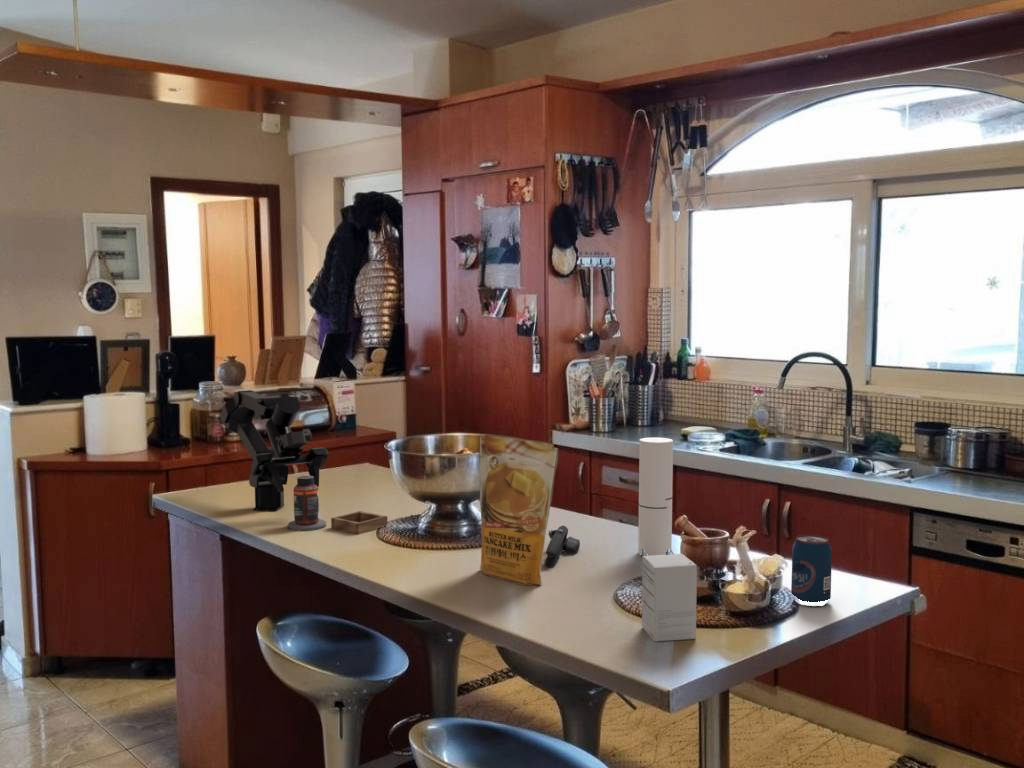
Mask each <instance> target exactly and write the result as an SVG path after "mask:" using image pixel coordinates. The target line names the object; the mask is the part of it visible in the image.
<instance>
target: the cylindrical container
mask: <svg viewBox="0 0 1024 768" xmlns="http://www.w3.org/2000/svg"><path fill="white" fill-rule="evenodd" d="M638 455H639V459H638V460H639V461H638V462H639V463H638V464H639V465H638V466H639V467H638V476H639V477H638V480H639V481H638V542H637V543H638V544H637V546H638V549H637V550H638V552H637V554H638V555H639V556H641V555H640V554H641V549H643V550H645V552H646V553H647V554H648V556H651V555H666V552H667V549H671V550H672V546H673V545H672V543H673V542H672V541H673V540H672V537H673V536H672V535H673V533H672V532H673V530H672V529H673V479H674V478H673V477H674V476H673V473H674V472H673V471H674V469H673V468H674V467H673V463H674V440H673V439H671V438H666V437H644V438H643V437H642V438H640V439H639V452H638Z"/></svg>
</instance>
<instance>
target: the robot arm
mask: <svg viewBox="0 0 1024 768" xmlns="http://www.w3.org/2000/svg"><path fill="white" fill-rule="evenodd" d="M300 409H301V403H300V401H298V399H296V398H294V397H293V396H290V395H289V393H288V392H281V393H280V394H279V396H270V397H269V396H265V395H262V394H260V393H257V392H255V391H254V390H251V389H250V390H249V389H248V390H238V391H235V392H234V394H233V397H232V398H230V399H229V400H228V401H226V402H225V403H224V405H223V407H222V410H221V413H220V420H221V423H222V424H223V425H224V427H225V428H226V429H227V430H228V431H230V432H233V433H235V434H237V435H238V438H239V439H240V441H241V443H242V444H243V446H244V447H245V448H246V450H247V452H248V454H249V455H250V457H251V459H252V463H251V465H250V470H251V472H250V474H249V476H248V483H249V486H250V487H253V488H254V501H255V502H254V503H255V504H254V507H253V508H252V511H268V512H269V511H275V512H276V511H278V510H280V509H282V508H283V507H285V496H284V494H285V493H284V492H285V491H284V490H285V488H284V486H285V485H286V486H287V484H288V477H289V470H290V468H289V465H290V466H291V465H299V464H300V465H301V464H305V465H306V467H307V468H308V469H307V472H308V474H309V475H308V476H313V477H314V484H315V485H317V487H318V488H319V486H320V470H321V468H323V467H324V465H325V463H326V461H327V459H328V457H329V455H330V454H329V452H328V449H327V448H326V447H323V446H322V447H312V448H310V449H309V451H308V453H307V454H301V453H302V452H303V451H304V447H303V446H306V445H307V444H308V443H310V442H311V441H312V440H313V435H312V432H311V430H310V428H302V430H300V431H292V430H291V426H292V425H293V424H294V422H295V420H296V418H297V416H298V415H299V414H298V413H299V411H300ZM255 417H256V418H257V419H258V420H260V421H262V420H263V421H265V420H267V421H266V424H265V425H264V427H265V429H264V435H268V439H269V442H270V445H271V447H270V448H269V447H268V444H267V443H266V442H265V440H264V439H263V436H262V435H261V434H260V432H259V431H258V428H257V427H256V426H255V424H254V419H255Z"/></svg>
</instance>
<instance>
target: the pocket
mask: <svg viewBox="0 0 1024 768" xmlns="http://www.w3.org/2000/svg"><path fill="white" fill-rule="evenodd" d="M330 521H331V524H330V525H331V526H330V527H331V529H332V530H337V531H342V532H347V533H350V534H351V533H352V534H357V535H361V534H364V533H368V532H372V531H376V529H377V530H379V529H378V528H380V527H382V526H386V525H388V516H387V515H383V514H377V513H371V512H365V511H361V510H360V511H355V512H351V513H347V514H343V515H338V516H335V517H331V518H330ZM388 526H389V525H388ZM380 529H381V528H380Z"/></svg>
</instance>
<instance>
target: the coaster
mask: <svg viewBox="0 0 1024 768" xmlns="http://www.w3.org/2000/svg"><path fill="white" fill-rule="evenodd" d="M287 526H288V527H289V528H290V529H289V528H288V529H289V530H292V529H293V531H298V530H301V531H300V532H302V531H303V532H305V531H317V530H321V529H323V528H324V529H325V528H326V526H327V522H326V520H324V519H320V518H319V521H318V522H317V523H315V524H310V525H299V524H296V523H295V519H294V520H291V521H289V522H288V523H287Z"/></svg>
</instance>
